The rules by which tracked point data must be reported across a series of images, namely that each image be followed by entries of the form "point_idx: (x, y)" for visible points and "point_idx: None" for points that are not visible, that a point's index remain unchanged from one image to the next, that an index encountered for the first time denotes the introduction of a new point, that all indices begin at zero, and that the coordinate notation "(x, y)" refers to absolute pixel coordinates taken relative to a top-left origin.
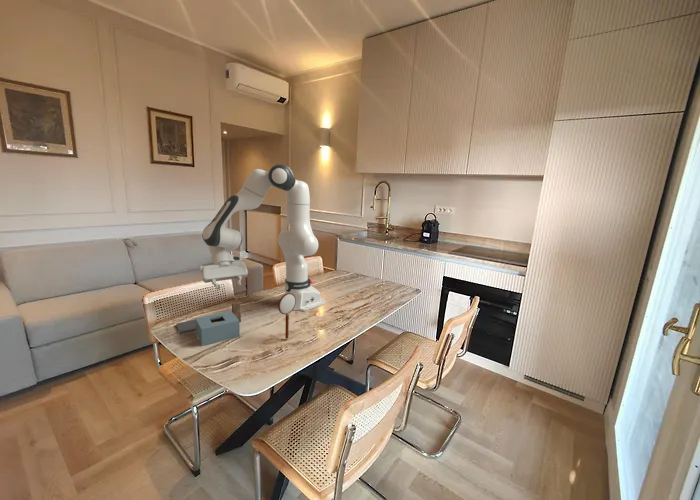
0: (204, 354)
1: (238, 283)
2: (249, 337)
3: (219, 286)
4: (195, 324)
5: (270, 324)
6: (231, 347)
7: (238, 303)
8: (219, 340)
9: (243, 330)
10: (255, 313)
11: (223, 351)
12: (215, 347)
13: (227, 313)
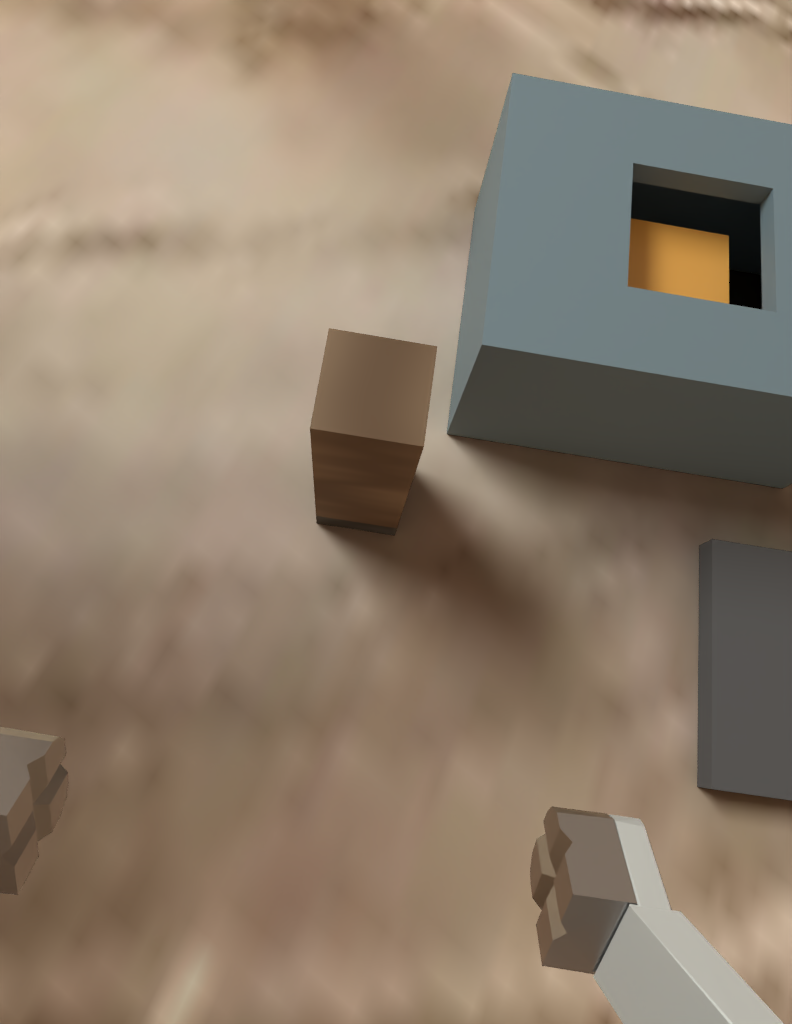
0: None
1: (21, 751)
2: (415, 148)
3: (574, 827)
4: (776, 653)
5: (124, 219)
6: None
7: (354, 343)
8: None
9: (397, 279)
10: (66, 553)
11: None
12: None
13: (550, 305)
